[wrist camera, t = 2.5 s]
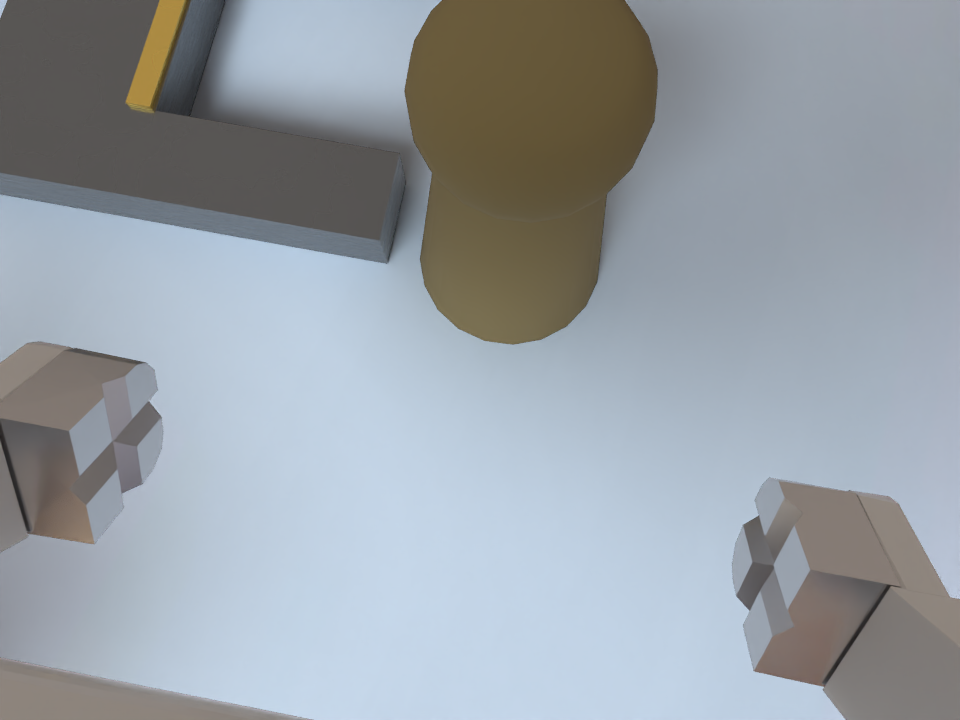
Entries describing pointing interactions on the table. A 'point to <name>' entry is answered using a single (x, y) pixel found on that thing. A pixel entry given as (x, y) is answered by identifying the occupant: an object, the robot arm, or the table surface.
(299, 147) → the grey u-shaped bracket
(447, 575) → the table surface
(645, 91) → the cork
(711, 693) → the table surface
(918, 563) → the robot arm
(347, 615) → the table surface
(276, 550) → the table surface
